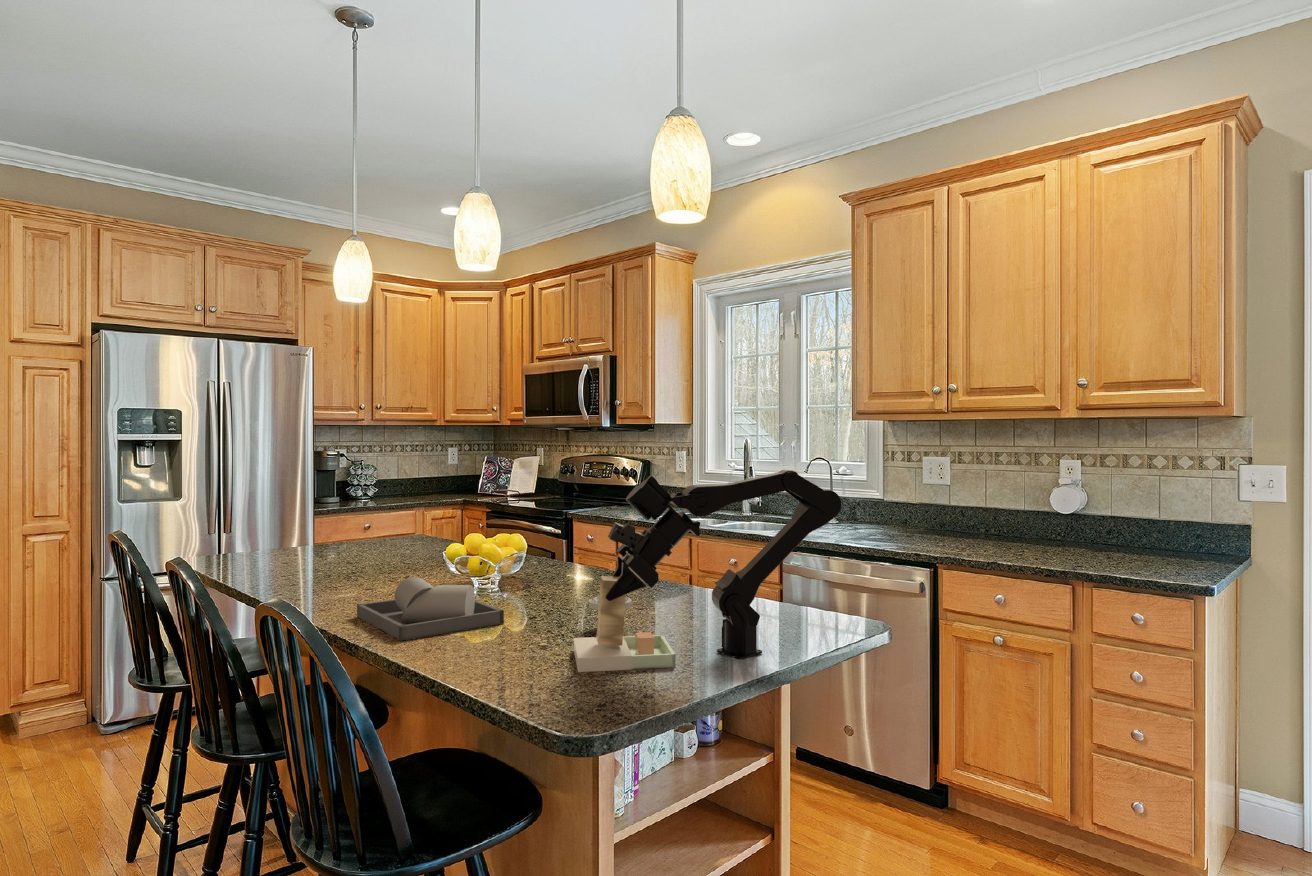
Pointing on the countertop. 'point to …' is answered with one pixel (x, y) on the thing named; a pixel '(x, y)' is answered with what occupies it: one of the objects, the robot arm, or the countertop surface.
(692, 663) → the countertop surface
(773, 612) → the countertop surface
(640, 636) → the peach rectangular box
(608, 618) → the block
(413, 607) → the elbow connector
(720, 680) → the countertop surface
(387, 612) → the divided desk organizer
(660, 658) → the tray
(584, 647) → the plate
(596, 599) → the showerhead
